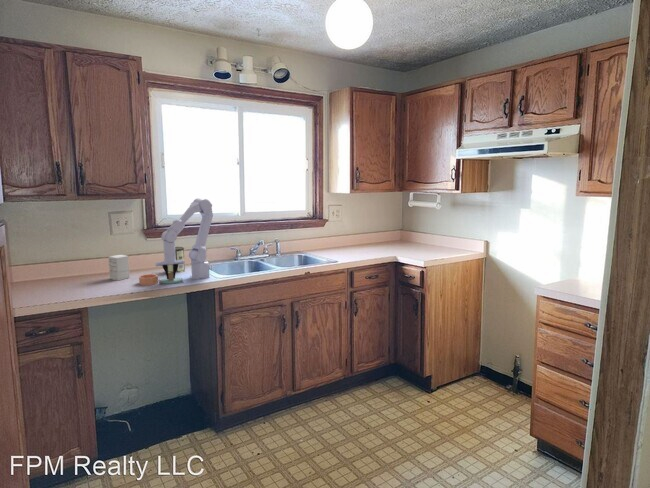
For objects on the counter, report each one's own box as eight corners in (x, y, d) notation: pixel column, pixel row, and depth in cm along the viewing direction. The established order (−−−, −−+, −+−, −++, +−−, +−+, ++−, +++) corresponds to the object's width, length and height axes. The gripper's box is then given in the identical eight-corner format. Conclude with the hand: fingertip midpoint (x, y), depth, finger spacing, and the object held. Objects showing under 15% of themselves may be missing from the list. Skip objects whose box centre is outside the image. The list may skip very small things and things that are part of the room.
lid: (180, 278, 234) (180, 269, 234) (183, 282, 225) (182, 273, 224) (159, 279, 230) (158, 271, 229) (160, 284, 220) (160, 275, 219)
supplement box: (121, 276, 239) (120, 254, 237) (130, 278, 235) (128, 255, 233) (109, 279, 233) (107, 256, 231) (117, 280, 229) (116, 257, 227)
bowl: (157, 280, 229) (157, 273, 229) (158, 284, 221) (158, 277, 221) (139, 282, 226) (138, 275, 225) (139, 286, 218) (139, 278, 217)
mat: (181, 278, 235) (181, 277, 235) (184, 283, 224) (184, 282, 224) (158, 280, 230) (158, 279, 230) (159, 285, 219) (159, 285, 219)
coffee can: (171, 269, 258) (170, 246, 256) (187, 269, 257) (186, 246, 255) (163, 273, 248) (162, 249, 246) (180, 273, 247) (179, 249, 245)
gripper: (155, 255, 218) (156, 281, 220) (184, 253, 224) (185, 278, 226) (154, 253, 224) (155, 278, 227) (183, 251, 231) (184, 276, 233)
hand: (170, 278), depth 227 cm, fingers closed on lid, 2 cm apart
